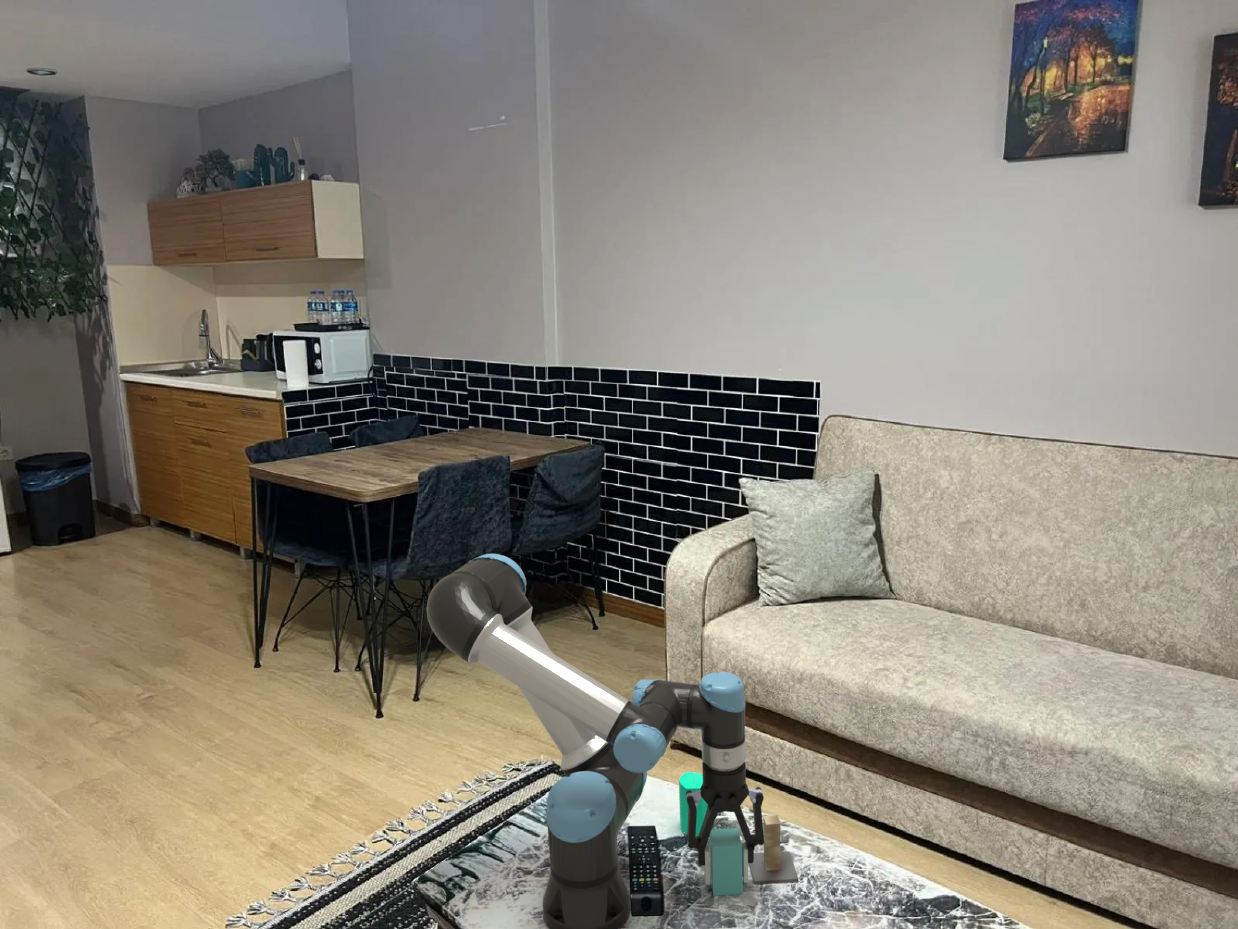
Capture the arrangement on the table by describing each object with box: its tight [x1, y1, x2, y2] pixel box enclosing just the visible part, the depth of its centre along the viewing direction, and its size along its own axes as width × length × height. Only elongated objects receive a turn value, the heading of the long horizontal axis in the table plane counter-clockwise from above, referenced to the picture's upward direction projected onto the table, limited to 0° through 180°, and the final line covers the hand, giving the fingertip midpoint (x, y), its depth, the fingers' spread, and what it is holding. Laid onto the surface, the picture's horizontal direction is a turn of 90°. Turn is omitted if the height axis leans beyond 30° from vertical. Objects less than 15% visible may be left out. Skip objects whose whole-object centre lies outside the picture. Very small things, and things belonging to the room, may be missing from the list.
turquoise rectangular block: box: [708, 827, 744, 897], centre depth 164 cm, size 5×5×10 cm
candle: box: [678, 771, 708, 836], centre depth 181 cm, size 6×6×12 cm
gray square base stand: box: [748, 815, 799, 885], centre depth 168 cm, size 8×8×10 cm
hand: (726, 878), depth 164 cm, fingers open, 6 cm apart
